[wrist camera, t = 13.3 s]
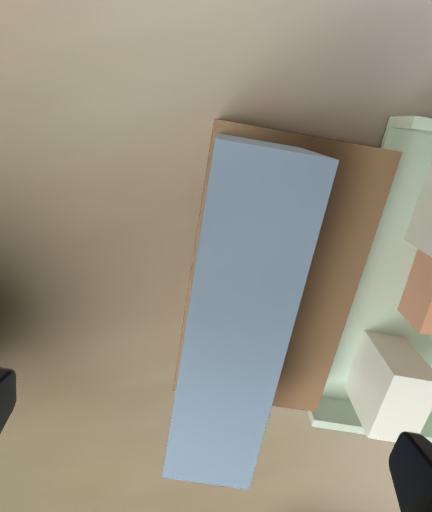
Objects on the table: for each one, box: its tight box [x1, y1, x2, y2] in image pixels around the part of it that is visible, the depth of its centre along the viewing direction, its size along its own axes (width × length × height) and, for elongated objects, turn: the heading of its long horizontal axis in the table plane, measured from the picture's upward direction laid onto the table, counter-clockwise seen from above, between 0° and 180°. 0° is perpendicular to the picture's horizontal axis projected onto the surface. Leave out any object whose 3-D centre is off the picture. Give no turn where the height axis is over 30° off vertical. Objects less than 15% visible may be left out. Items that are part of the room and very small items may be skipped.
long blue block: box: [162, 133, 339, 490], centre depth 15 cm, size 4×13×6 cm, turn 171°
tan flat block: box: [173, 119, 402, 412], centre depth 19 cm, size 8×14×3 cm, turn 171°
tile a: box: [344, 330, 432, 442], centre depth 20 cm, size 4×4×2 cm
